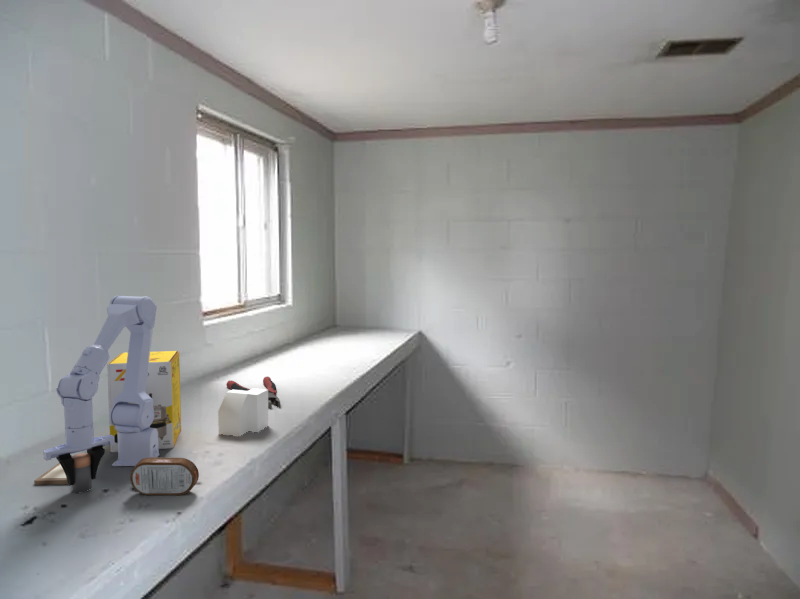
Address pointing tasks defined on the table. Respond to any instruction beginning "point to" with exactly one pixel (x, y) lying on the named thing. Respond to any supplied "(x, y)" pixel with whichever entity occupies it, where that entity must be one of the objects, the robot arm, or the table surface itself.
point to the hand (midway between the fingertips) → (81, 481)
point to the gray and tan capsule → (82, 473)
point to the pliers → (270, 387)
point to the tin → (164, 476)
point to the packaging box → (153, 394)
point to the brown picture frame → (52, 476)
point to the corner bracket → (243, 412)
